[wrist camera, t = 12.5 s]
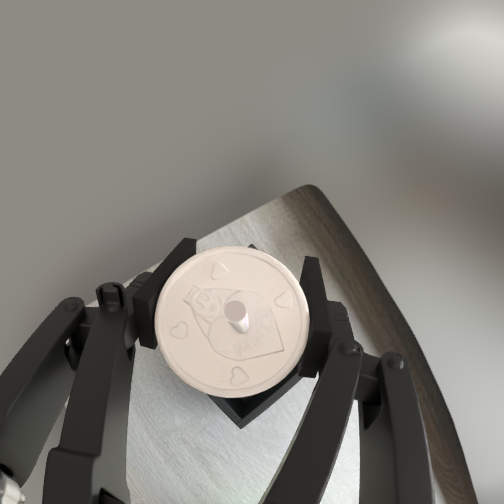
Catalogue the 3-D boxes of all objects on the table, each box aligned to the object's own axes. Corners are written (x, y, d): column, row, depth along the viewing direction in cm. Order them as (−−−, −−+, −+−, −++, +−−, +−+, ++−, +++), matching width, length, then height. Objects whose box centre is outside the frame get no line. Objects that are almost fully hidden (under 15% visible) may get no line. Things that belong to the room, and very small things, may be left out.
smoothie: (256, 392, 18) (261, 472, 5) (182, 347, 19) (63, 329, 6) (300, 318, 20) (382, 254, 7) (226, 277, 21) (187, 155, 8)
